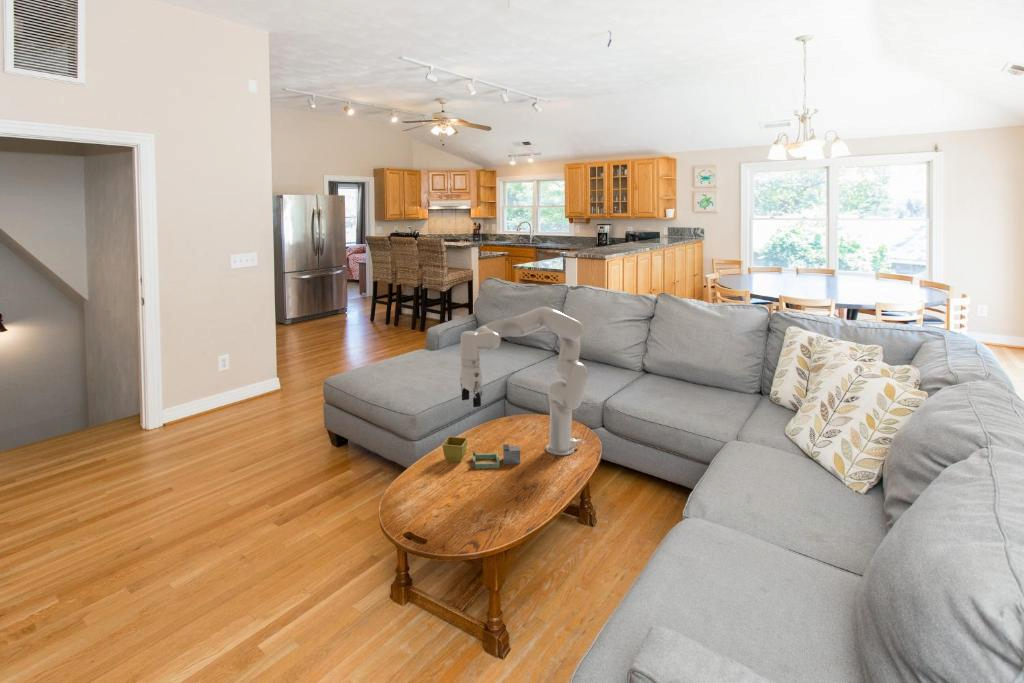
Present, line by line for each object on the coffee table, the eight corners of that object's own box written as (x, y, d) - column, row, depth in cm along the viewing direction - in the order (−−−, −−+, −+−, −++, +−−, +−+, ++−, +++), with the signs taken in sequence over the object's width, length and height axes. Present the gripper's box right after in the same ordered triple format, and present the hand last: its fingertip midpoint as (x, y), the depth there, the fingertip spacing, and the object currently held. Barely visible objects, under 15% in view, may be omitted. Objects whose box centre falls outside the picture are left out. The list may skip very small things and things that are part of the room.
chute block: (519, 458, 245) (519, 444, 244) (520, 463, 240) (520, 448, 239) (503, 459, 245) (503, 444, 243) (503, 464, 240) (503, 449, 238)
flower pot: (462, 466, 238) (462, 446, 236) (442, 464, 240) (441, 444, 238) (468, 457, 247) (467, 437, 244) (448, 455, 248) (448, 436, 246)
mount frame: (498, 457, 246) (498, 450, 245) (499, 467, 236) (499, 460, 236) (473, 458, 246) (472, 451, 245) (473, 468, 236) (472, 461, 235)
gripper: (489, 365, 221) (489, 407, 225) (468, 356, 235) (469, 395, 239) (472, 368, 217) (473, 411, 221) (452, 358, 231) (453, 398, 235)
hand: (471, 403), depth 230 cm, fingers open, 9 cm apart
